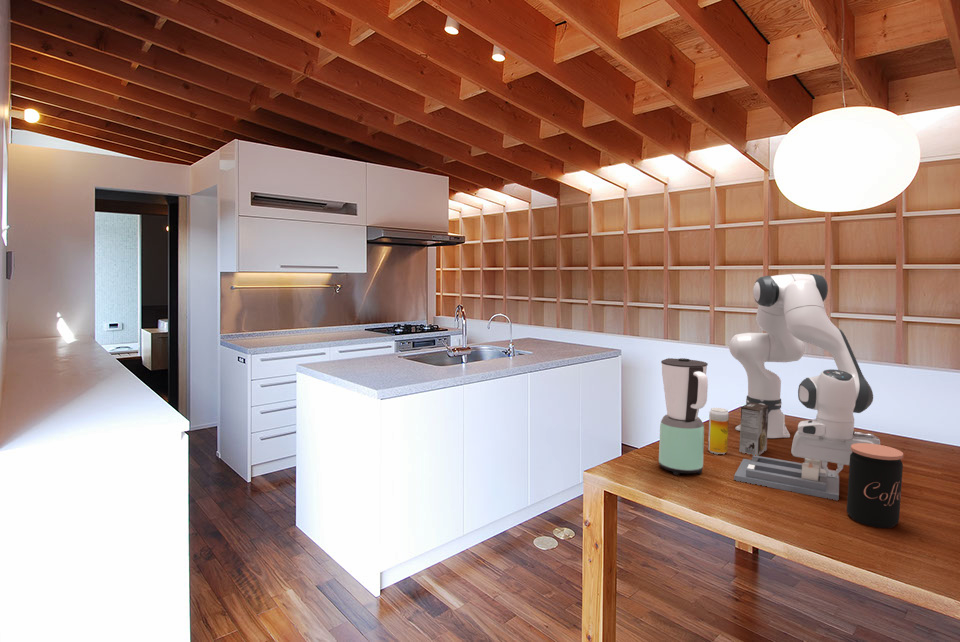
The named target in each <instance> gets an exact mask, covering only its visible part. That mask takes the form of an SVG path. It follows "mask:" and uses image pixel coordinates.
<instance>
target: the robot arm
mask: <svg viewBox="0 0 960 642" xmlns="http://www.w3.org/2000/svg"><path fill="white" fill-rule="evenodd" d="M828 289H829V286H828V282H827V280H826V278H825V277H824V276H823V275H822V274H821V275H820V274H818V273H817V274H816V273H810V274H808V273H807V274H806V273H788V274H787V273H786V274H776V275H764V276H760V277H759V278H757V279H756V281H755V282H754V285H753V290H752V294H753V298H754V301H755V303H756V304H758V305H757V306H758V307H757V309H756V311H757V312H756V316H755V322H756V324H757V326H758V327H759V328H760V330H762V331H763V332H743V333H737V334H734V336H732V338H731V339H730V341H729V345H728V346H729V352H730V354H731V356H732V357H733V358H734V359H735V360H737V361H738V363H740V364H741V365H742V367H743V368H744V369H745V372H746V375H747V376H746V377H747V395H746V397H745V398H746V399H745V401H746V402H745V405H746V404H748V403H757V404H762V405H767V406H768V430H767V439H779V438H791V434H790V432H789V430H788V428H787V426H786V422H785V421H786V419H785V417H786V415H785V413H783V412H782V410H781V409H782V404H783V403H782V398H781V388H782V380H781V377H780V376H779V375H778V374H776V373H775V372H773V371H771V370H769V369H767V368H766V367H765V363H791V362H798V361H799V360H801V359H802V357H804V355H805V350H806V346H805V343H806V344H810V345H813V346H816V347H819V348H821V349H823V350H825V351H826V352H827V353H829V354H830V355H831V357H832V358H833V360H834V363H835V364H836V367H837V368H836V369H832V368H831V369H824V370H822V372H820V374H819V375H816V376H811V377H805V378H804V379H803V380H802V381H801V382H800V383H799V385H798V388H797V389H798V390H797V396H798V397H797V398H798V400H799V402H800V403H801V404H802V405H803V406H804V407H805V408H807V409H809V410H810V409H811V410H814V411H815V410H816V411H817V414H816V418H814V419H807V420H806V419H805V420H801V421H800V422H798V425H797V430H796V432H795V433H794V436H793V439H792V443H791V444H792V445H791V452H790V453H791V454H792V456H793V457H796V458H802V459H805V458H807V459H814V460H820V461H821V467H823V468H824V470H825V471H826V476H825V477H830V478H835V479H838V475H839V474H840V472H841V471H842V470H843V469H844V465H846V466H849V465H850V454H851V453H852V450H851V445H852V444H856V443H870V444H878V445H881V440H880V438H879V437H877V436H876V435H874V434H873V433H864V432H860V431H854V430H855V417H854V413H855V414H861V413H863V412H864V411H866V410H867V409H869V408H870V406H871V405H872V404H873V401H874V394H873V390H872V387H871V385H870V384H869V383H868V381H867V379H866V378H865V376H864V375H863V371H862V370H861V368H860V365H859V364H858V361H857V359H856V356H855V355H854V351H853V350H852V347H851V346H850V343H849V341H848V339H847V337H846V335H845V332H843V330H842V329H840V328H838V327H837V326H836V325H835V324H834V323H833V322H832V321H831V320H830V318H829V317H828V314H827V312H826V308H825V307H826V306H825V303H824V302H825V300H826V299H827V297H828V293H829V290H828ZM740 425H741V423H739V425H737V426H735V430H736V431H739V432H740ZM828 463H834V464H837V465H836V466H837V468H836V470H833V469H829V467H828Z"/></svg>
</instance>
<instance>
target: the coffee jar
mask: <svg viewBox="0 0 960 642" xmlns="http://www.w3.org/2000/svg"><path fill="white" fill-rule="evenodd" d="M851 450H852V453H851V454H850V465H848V466H849V467H848V468H849V469H848V481H847V482H848V485H847V497H846V498H847V499H846V500H847V503H846V512H847V514H848V515H849V517H850V518H851V519H852V520H853V521H854V522H855V521H856V522H857V523H859V524H861V525H865V526H869V527H873V528H878V529H891V528H894V527H895V526H896V525H898V523H900V513H901V510H900V509H901V498H902V496H901V495H902V487H903V486H902V482H903V472H904V471H903V469H904V465H903V462H902V459H904V453H903V452H902V451H901V449H900V450H899V449H897V448H894V447H891V446H888V445H887V446H886V445H884V444H883V445H882V444H880V445H878V444H870V443H856V444H852V445H851Z"/></svg>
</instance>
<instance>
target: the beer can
mask: <svg viewBox="0 0 960 642" xmlns="http://www.w3.org/2000/svg"><path fill="white" fill-rule="evenodd" d="M708 413H709V419H708V420H709V421H708V442H707V443H708V445H707V449H708V451H709V452H710V454H713V453H714V454H713V455H718V454H723V455H725V453H726V454H727V452H728V447H729V446H728V445H729V443H728V441H729V418H730V413H729V411H728V409H727V408H722V407H711V408H710V410H709V412H708Z"/></svg>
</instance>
